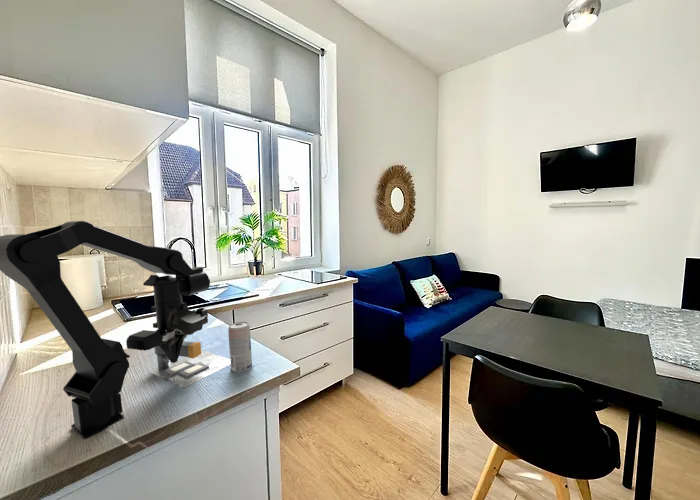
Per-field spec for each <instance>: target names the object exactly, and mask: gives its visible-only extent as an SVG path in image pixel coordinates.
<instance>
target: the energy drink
mask: <svg viewBox="0 0 700 500" xmlns="http://www.w3.org/2000/svg"><path fill="white" fill-rule="evenodd" d="M227 330H228V347H229V359H230V362H231V364H230V370H231V371H232V372H234V373H242V372H246V371H248V370H249V369H251V368H252V367H253V358H252V357H253V356H252V339H251V327H250V323H249V322H247V321H237V322H234V323H231V324H229V325H228V328H227Z"/></svg>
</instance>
